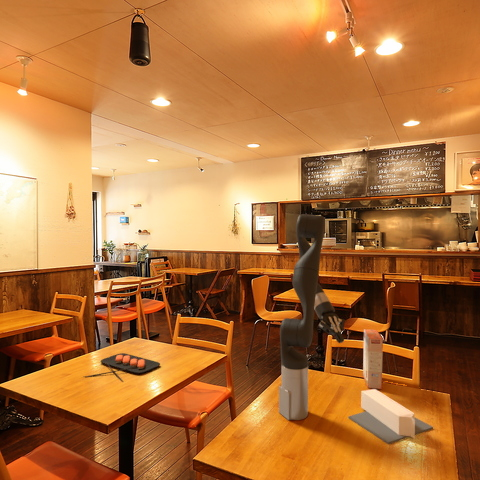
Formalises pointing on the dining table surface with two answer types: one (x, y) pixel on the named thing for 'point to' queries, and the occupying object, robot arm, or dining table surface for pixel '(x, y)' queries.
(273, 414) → the dining table surface
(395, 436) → the mat
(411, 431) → the milk
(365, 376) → the cracker box
